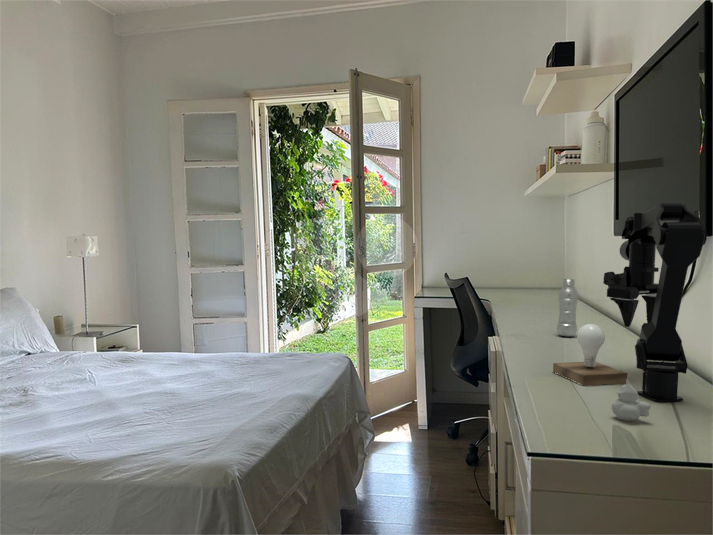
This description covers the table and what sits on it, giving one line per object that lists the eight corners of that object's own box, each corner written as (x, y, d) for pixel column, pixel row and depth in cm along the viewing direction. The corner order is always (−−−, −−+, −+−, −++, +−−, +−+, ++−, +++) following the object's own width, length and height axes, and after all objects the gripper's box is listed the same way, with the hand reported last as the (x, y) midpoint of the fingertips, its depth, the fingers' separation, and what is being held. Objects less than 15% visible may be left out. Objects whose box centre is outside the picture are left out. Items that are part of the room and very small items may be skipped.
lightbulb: (574, 369, 130) (576, 324, 130) (576, 363, 136) (578, 321, 135) (603, 372, 127) (605, 327, 127) (604, 366, 133) (606, 323, 132)
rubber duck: (611, 413, 106) (612, 373, 105) (648, 418, 103) (650, 378, 102) (610, 421, 101) (612, 380, 100) (650, 427, 98) (652, 385, 98)
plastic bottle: (552, 335, 187) (554, 279, 186) (566, 334, 190) (568, 278, 189) (566, 338, 182) (568, 280, 180) (581, 337, 184) (583, 280, 183)
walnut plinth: (626, 383, 127) (627, 373, 127) (583, 386, 125) (583, 375, 125) (593, 370, 139) (594, 361, 139) (553, 372, 136) (553, 363, 136)
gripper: (634, 260, 144) (631, 318, 145) (588, 261, 135) (586, 323, 136) (676, 263, 134) (672, 324, 135) (630, 264, 125) (627, 330, 126)
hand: (638, 325), depth 133 cm, fingers open, 9 cm apart
